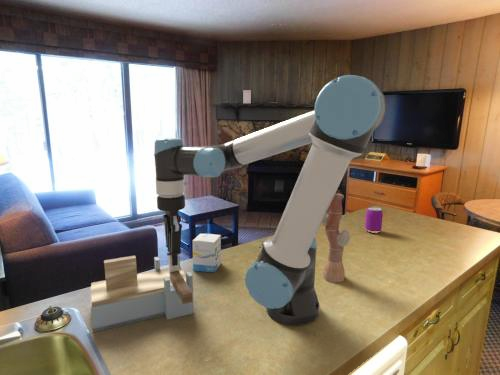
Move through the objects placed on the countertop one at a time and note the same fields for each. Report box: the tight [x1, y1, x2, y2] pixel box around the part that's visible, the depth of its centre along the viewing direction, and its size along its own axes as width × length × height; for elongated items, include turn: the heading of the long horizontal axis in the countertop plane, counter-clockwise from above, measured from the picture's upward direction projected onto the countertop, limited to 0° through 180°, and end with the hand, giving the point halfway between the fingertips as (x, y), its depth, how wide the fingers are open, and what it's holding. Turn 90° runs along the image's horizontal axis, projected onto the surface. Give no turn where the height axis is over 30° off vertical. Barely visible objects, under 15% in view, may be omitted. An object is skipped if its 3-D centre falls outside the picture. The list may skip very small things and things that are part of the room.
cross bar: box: [170, 271, 194, 304], centre depth 88 cm, size 14×2×2 cm, turn 26°
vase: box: [321, 192, 351, 283], centre depth 113 cm, size 10×7×30 cm
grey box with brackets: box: [90, 255, 195, 333], centre depth 94 cm, size 17×26×12 cm, turn 116°
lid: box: [90, 255, 186, 307], centre depth 93 cm, size 11×25×10 cm, turn 116°
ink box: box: [192, 233, 222, 273], centre depth 122 cm, size 8×8×12 cm
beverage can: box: [364, 206, 384, 232], centre depth 163 cm, size 8×8×12 cm
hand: (174, 274), depth 95 cm, fingers closed
